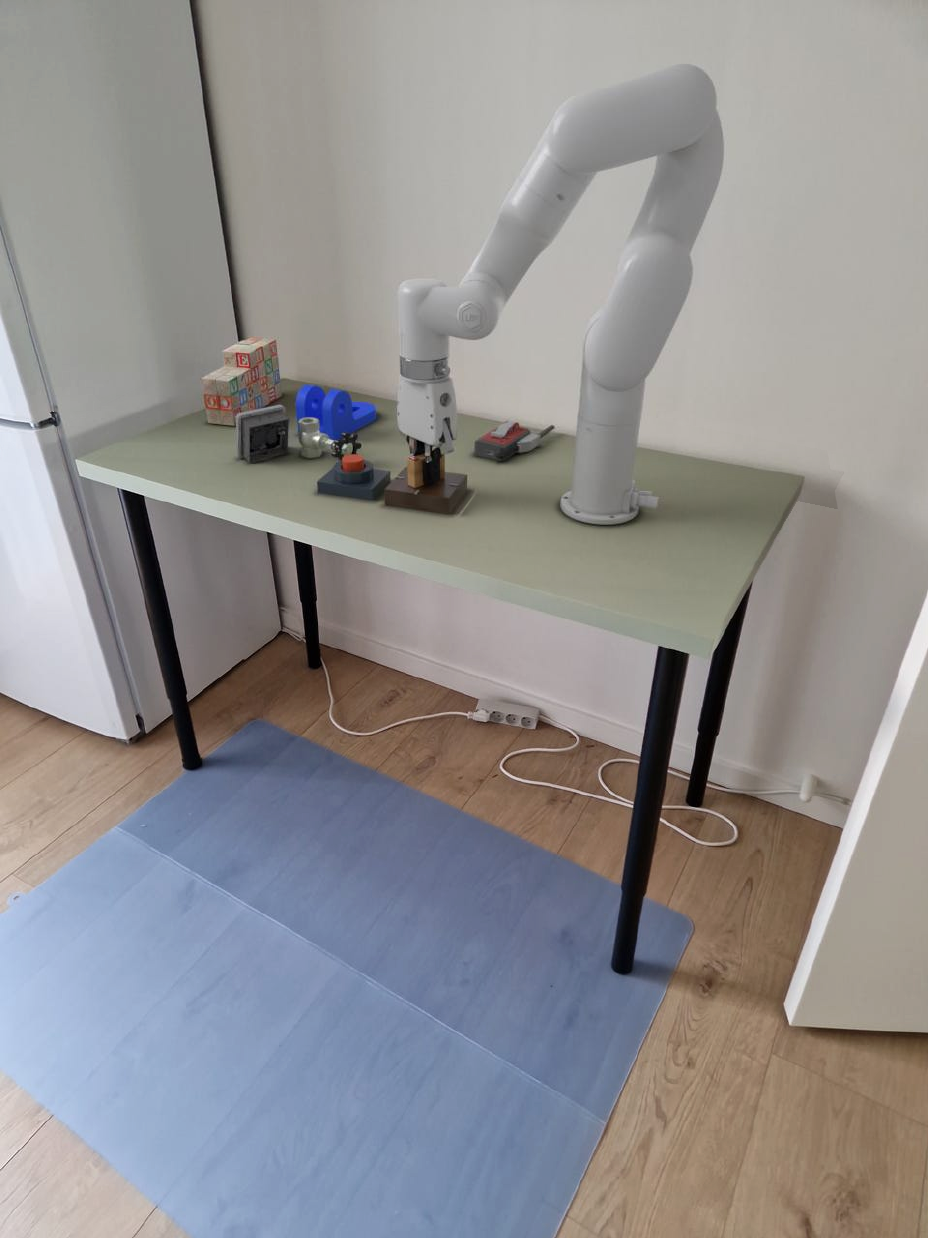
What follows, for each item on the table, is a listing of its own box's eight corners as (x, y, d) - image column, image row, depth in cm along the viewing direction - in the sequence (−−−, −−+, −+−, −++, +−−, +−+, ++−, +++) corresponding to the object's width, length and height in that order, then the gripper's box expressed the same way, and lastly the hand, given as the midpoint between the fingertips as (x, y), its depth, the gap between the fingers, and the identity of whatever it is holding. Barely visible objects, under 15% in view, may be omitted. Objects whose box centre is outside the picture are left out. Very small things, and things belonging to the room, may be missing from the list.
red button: (367, 465, 137) (367, 455, 136) (359, 473, 134) (358, 463, 133) (348, 462, 138) (347, 453, 137) (339, 470, 135) (338, 460, 134)
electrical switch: (282, 447, 154) (279, 400, 148) (295, 457, 151) (292, 410, 145) (236, 458, 149) (230, 410, 143) (248, 469, 146) (243, 421, 140)
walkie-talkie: (510, 467, 147) (557, 434, 161) (511, 444, 144) (559, 412, 159) (468, 457, 150) (518, 426, 165) (468, 434, 148) (519, 404, 162)
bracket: (333, 442, 156) (329, 396, 151) (298, 435, 159) (293, 389, 154) (383, 415, 169) (381, 372, 165) (350, 408, 173) (347, 366, 168)
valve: (290, 457, 150) (336, 473, 143) (286, 422, 146) (334, 437, 140) (317, 447, 154) (362, 462, 148) (313, 413, 150) (360, 427, 144)
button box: (390, 482, 140) (389, 461, 138) (373, 501, 134) (371, 478, 132) (337, 475, 143) (336, 454, 141) (317, 493, 136) (315, 471, 134)
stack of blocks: (235, 427, 163) (226, 365, 156) (207, 424, 164) (197, 362, 157) (282, 395, 180) (276, 338, 173) (257, 392, 181) (249, 335, 175)
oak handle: (437, 474, 136) (437, 447, 133) (445, 477, 135) (444, 450, 132) (407, 484, 132) (406, 457, 130) (414, 488, 131) (414, 460, 128)
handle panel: (467, 490, 138) (467, 472, 136) (448, 516, 130) (448, 498, 128) (407, 481, 141) (406, 464, 139) (384, 506, 132) (383, 488, 130)
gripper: (478, 373, 121) (476, 488, 131) (411, 351, 130) (413, 460, 140) (439, 383, 116) (440, 501, 126) (373, 360, 126) (379, 471, 136)
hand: (426, 478), depth 133 cm, fingers closed on oak handle, 2 cm apart
